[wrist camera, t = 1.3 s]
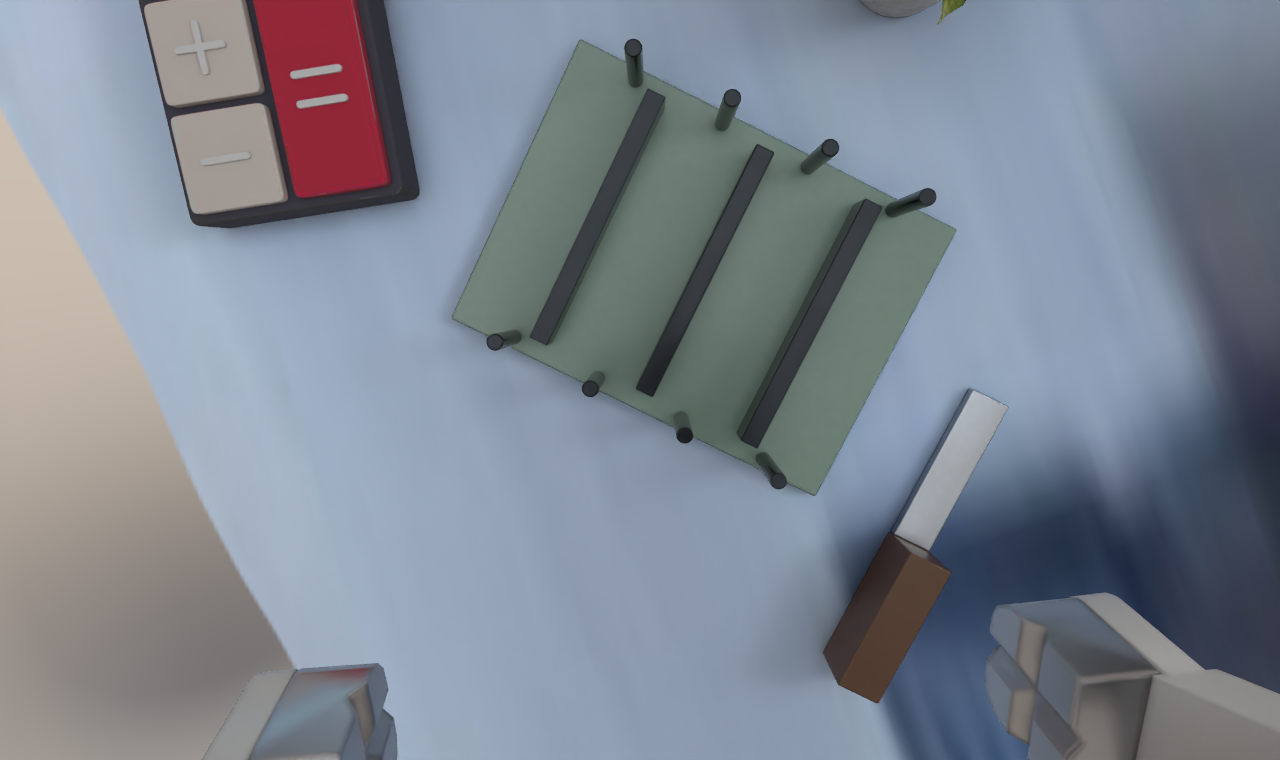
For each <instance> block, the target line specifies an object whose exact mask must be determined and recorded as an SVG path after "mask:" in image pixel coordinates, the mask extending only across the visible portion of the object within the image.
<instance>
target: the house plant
mask: <svg viewBox="0 0 1280 760" xmlns="http://www.w3.org/2000/svg"><path fill="white" fill-rule="evenodd" d="M860 1H861V2H862V3H863V4H864V5H865V6H866V7H867V8H869V9H870V10H871V11H873V12H876V13H878V14H880V15H882V16H887V17H892V18H898V17H908V16H910V15H913V14H916V13H918V12H921V11H922V10H924V9H926V8H928V7H929V6H931V5H933V4H935V3H936V2H938V1H940V0H860ZM965 1H966V0H943V6H942V15H941V17H940V20H939V22H938V24H939V23H940V21H941V20H942V19H943V18H944V17H945V16H946V15H948V14H949V13H951V12H953V11H954V10H956V9H957V8H959V7H961V6H962V5H963V4H964V3H965ZM938 24H937V25H938Z"/></svg>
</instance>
